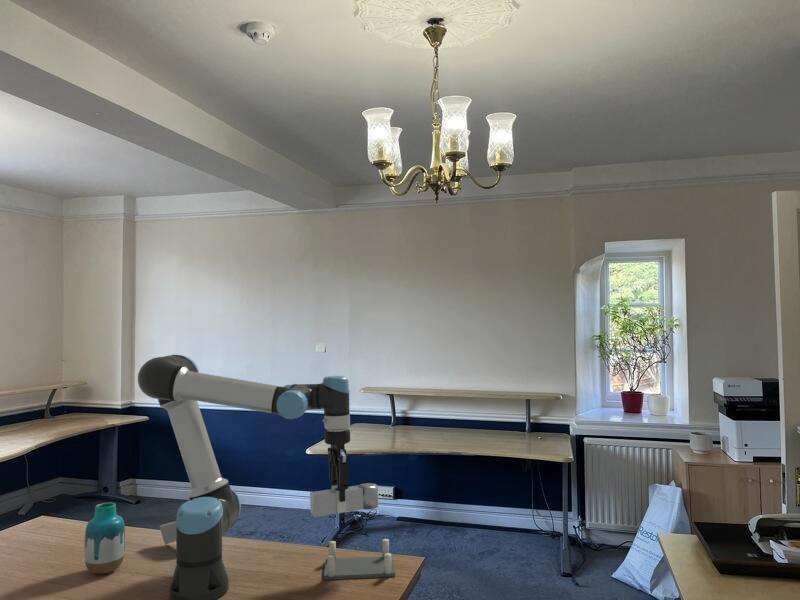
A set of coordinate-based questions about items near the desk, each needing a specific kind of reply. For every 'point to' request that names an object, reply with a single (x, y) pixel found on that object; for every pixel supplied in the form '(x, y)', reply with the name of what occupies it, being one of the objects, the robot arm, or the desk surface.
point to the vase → (104, 540)
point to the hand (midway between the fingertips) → (339, 509)
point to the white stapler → (168, 532)
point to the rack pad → (359, 565)
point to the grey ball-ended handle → (355, 499)
